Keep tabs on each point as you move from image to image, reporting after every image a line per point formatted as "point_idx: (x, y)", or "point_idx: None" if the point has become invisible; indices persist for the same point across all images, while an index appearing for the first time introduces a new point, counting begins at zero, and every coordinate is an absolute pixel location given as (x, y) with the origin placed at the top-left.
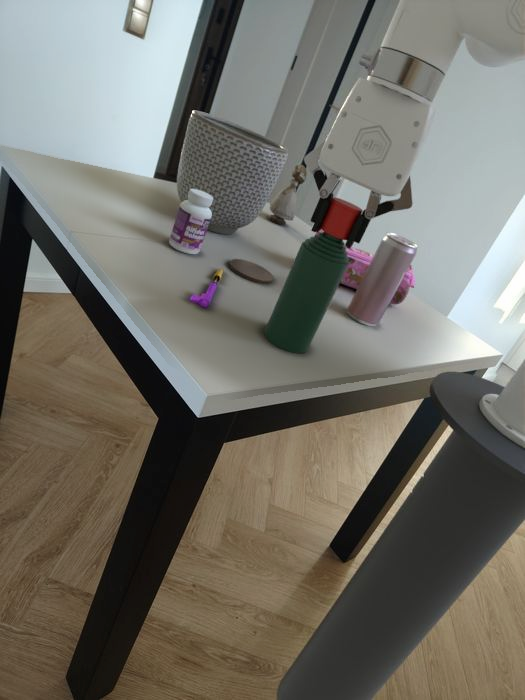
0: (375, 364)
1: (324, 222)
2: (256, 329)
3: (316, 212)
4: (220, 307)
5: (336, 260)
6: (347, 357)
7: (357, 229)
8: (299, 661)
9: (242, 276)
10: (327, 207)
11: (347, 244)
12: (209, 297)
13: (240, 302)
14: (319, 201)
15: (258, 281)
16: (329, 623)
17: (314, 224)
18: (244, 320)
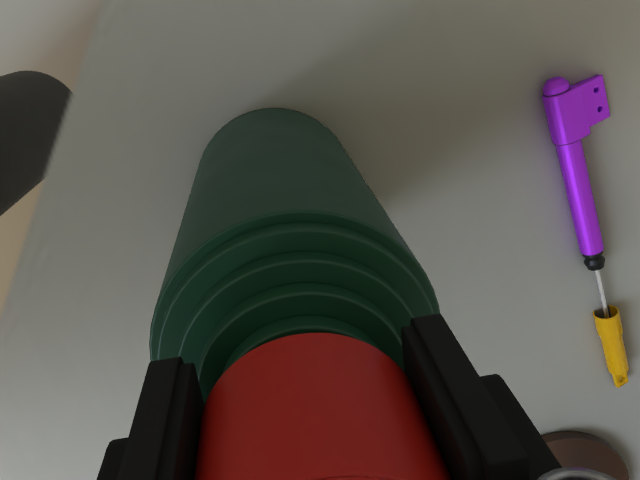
0: (16, 371)
1: (400, 384)
2: (370, 143)
3: (501, 409)
4: (512, 150)
5: (195, 270)
6: (95, 309)
7: (133, 443)
8: (57, 117)
9: (558, 432)
10: (456, 437)
11: (174, 362)
12: (562, 125)
13: (485, 260)
14: (553, 469)
15: None
16: (18, 130)
17: (445, 331)
18: (422, 156)
